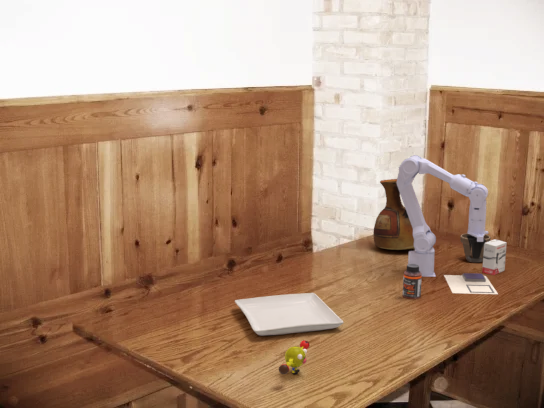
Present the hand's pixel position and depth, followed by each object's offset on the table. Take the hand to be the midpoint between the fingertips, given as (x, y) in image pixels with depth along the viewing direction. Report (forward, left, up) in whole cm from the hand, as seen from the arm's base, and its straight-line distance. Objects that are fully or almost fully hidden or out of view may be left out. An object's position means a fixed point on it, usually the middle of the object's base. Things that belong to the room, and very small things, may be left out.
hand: (474, 256), depth 242 cm
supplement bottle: (-24, -20, -9) cm, 33 cm away
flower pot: (+5, +26, -9) cm, 28 cm away
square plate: (-64, -43, -10) cm, 78 cm away
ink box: (+9, +10, -9) cm, 16 cm away
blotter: (-2, -6, -9) cm, 11 cm away
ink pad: (0, 0, -8) cm, 8 cm away
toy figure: (-59, -79, -9) cm, 99 cm away
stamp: (0, 0, -1) cm, 1 cm away
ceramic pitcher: (-24, +41, -9) cm, 48 cm away
